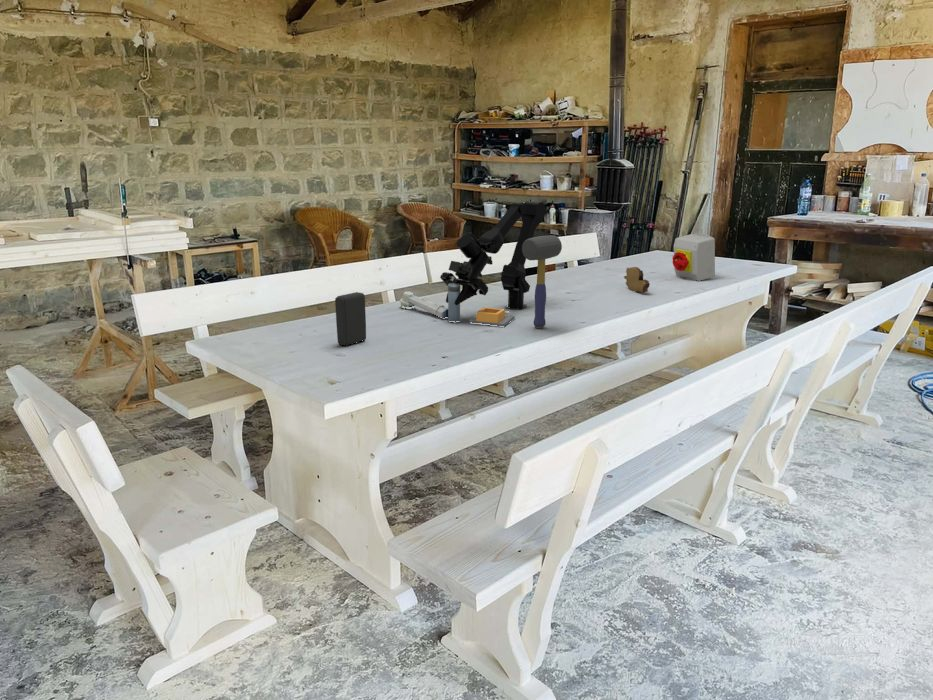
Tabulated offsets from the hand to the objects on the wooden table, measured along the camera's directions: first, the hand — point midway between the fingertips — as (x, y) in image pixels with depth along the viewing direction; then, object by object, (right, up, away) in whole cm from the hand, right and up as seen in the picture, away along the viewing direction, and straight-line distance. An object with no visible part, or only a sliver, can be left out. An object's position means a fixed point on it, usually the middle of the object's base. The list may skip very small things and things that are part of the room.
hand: (451, 303), depth 232 cm
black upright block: (-29, -14, -22) cm, 39 cm away
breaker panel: (+14, -6, +3) cm, 16 cm away
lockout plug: (+1, -6, +3) cm, 7 cm away
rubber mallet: (+29, -9, -5) cm, 31 cm away
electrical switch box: (+104, +16, +77) cm, 131 cm away
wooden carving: (+74, +8, +51) cm, 90 cm away
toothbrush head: (-10, -3, +15) cm, 18 cm away
